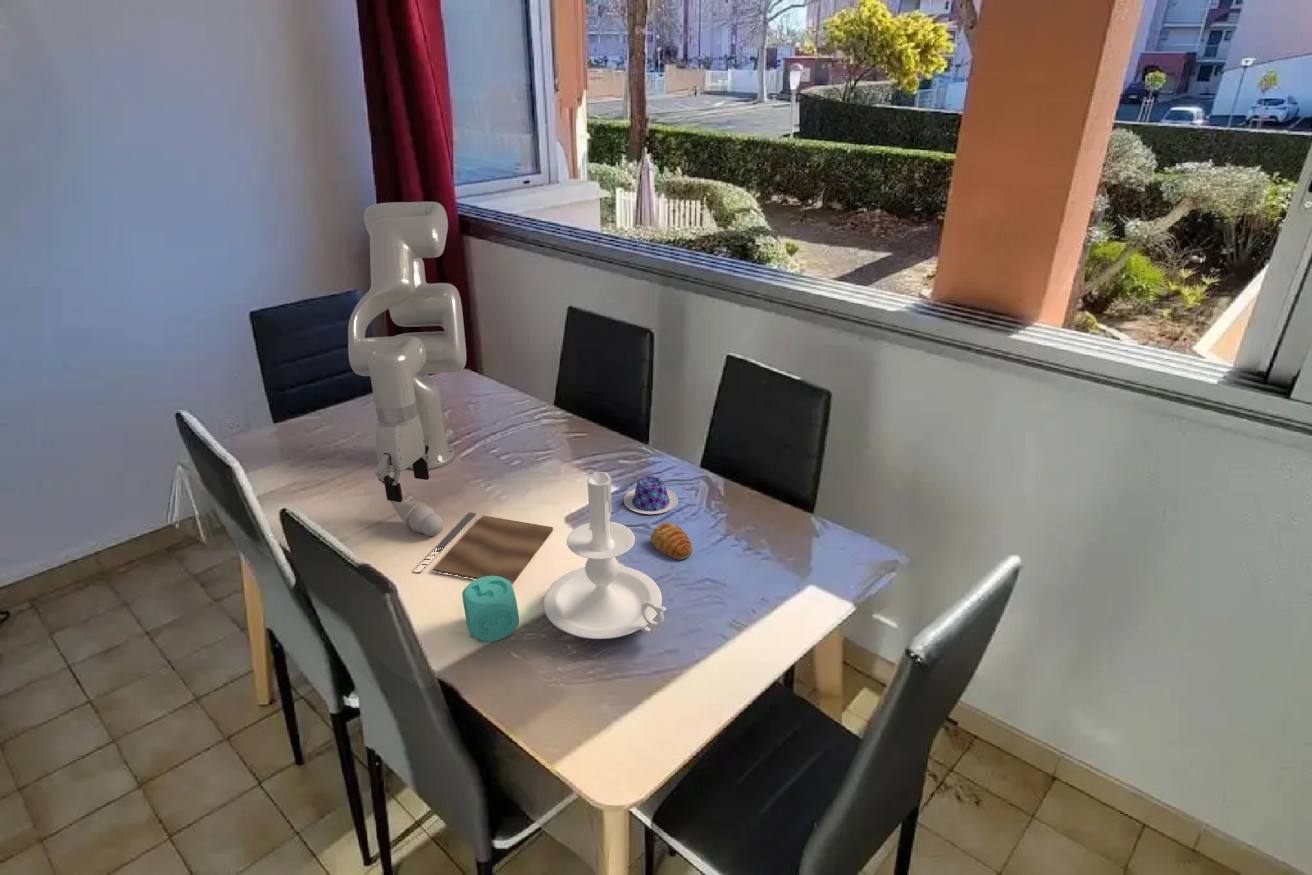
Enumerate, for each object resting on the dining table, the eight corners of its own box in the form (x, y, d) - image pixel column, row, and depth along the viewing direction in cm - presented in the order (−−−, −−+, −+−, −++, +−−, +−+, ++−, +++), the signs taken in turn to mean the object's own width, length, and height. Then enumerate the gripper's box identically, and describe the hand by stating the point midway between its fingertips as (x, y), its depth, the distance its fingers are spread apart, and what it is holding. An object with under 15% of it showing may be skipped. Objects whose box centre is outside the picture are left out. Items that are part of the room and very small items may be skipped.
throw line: (469, 513, 169) (469, 512, 168) (476, 514, 168) (475, 513, 168) (413, 572, 150) (413, 570, 149) (420, 573, 149) (420, 572, 149)
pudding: (628, 519, 167) (628, 498, 165) (619, 492, 177) (619, 471, 175) (683, 513, 169) (684, 492, 167) (671, 486, 180) (671, 466, 177)
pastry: (701, 555, 155) (701, 538, 153) (672, 566, 152) (672, 549, 150) (674, 533, 162) (674, 517, 161) (646, 543, 159) (646, 527, 157)
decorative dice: (465, 618, 138) (460, 581, 134) (510, 607, 140) (506, 570, 137) (473, 647, 131) (468, 608, 127) (520, 635, 134) (517, 597, 130)
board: (483, 518, 167) (482, 515, 166) (552, 530, 163) (552, 527, 162) (433, 572, 150) (433, 568, 149) (510, 587, 145) (509, 583, 145)
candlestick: (621, 684, 123) (618, 534, 111) (520, 616, 138) (507, 476, 126) (703, 620, 137) (708, 480, 125) (603, 564, 152) (599, 434, 139)
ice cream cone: (390, 514, 168) (441, 544, 162) (372, 509, 162) (423, 541, 156) (404, 488, 169) (455, 518, 162) (386, 483, 163) (438, 513, 157)
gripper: (405, 393, 160) (416, 468, 168) (352, 426, 145) (367, 507, 152) (437, 397, 158) (447, 473, 166) (387, 431, 143) (400, 512, 150)
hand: (408, 489), depth 159 cm, fingers open, 9 cm apart
